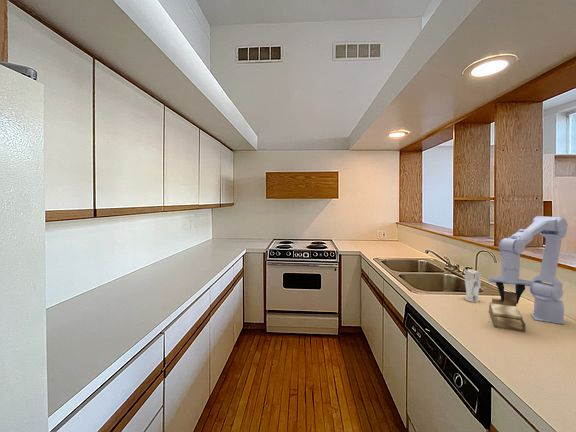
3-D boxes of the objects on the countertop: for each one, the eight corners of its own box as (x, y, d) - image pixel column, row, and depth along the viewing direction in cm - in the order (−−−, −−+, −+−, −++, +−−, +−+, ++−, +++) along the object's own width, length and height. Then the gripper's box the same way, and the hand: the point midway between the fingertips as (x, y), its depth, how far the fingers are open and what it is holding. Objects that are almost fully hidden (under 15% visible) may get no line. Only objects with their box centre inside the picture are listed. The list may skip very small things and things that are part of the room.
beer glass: (464, 301, 154) (465, 272, 154) (463, 297, 161) (464, 269, 160) (480, 303, 151) (481, 273, 150) (479, 299, 157) (480, 270, 157)
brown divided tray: (515, 314, 136) (516, 308, 136) (525, 331, 118) (525, 324, 118) (489, 311, 141) (489, 304, 141) (494, 326, 123) (494, 319, 123)
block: (514, 303, 123) (514, 292, 123) (516, 306, 120) (516, 295, 119) (502, 301, 125) (502, 291, 125) (504, 304, 122) (504, 293, 121)
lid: (515, 307, 136) (515, 300, 136) (522, 319, 123) (522, 311, 122) (489, 304, 141) (489, 297, 140) (493, 315, 127) (493, 307, 127)
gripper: (489, 268, 122) (488, 302, 122) (535, 272, 115) (534, 308, 115) (487, 265, 128) (487, 297, 129) (531, 268, 121) (530, 302, 122)
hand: (509, 302), depth 122 cm, fingers closed on block, 4 cm apart
